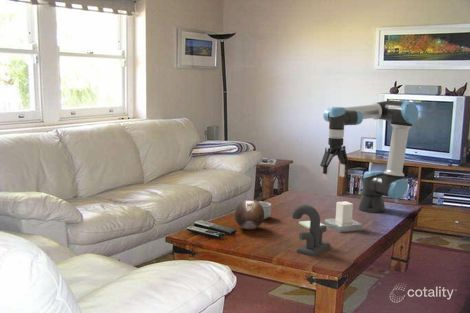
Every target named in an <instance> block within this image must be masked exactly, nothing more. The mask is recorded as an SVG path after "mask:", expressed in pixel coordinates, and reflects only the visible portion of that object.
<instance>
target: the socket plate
mask: <svg viewBox="0 0 470 313" xmlns="http://www.w3.org/2000/svg"><path fill="white" fill-rule="evenodd" d="M335 220H336V217H335V218H334V217H333V218H324V223H323V224H324V225H325V226H326V227H328V228H330V229H332V230H334V231H336V232H338V233H347V232H355V231H356V232H357V231H363V230H364V229H363V228H364V224H363V223H361V222H359V221H357V220H354V219H353V218H352V223H350V224H340V223H338V222H336V221H335Z"/></svg>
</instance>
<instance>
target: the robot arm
mask: <svg viewBox="0 0 470 313" xmlns="http://www.w3.org/2000/svg"><path fill="white" fill-rule="evenodd" d="M419 115H420V114H419V108H418V107H417V105H416V104H415V103H414V102H412V101H406V100H405V101H402V100H384V101H379V102H372V103H371V104H368V105H358V106H348V107H343V106H333V107H330V108H329V107H328V108H326V109H325V110H324V111H323V120H324V121H325V122H327V123H328V125H329V126H328V141H327V142H328V146H329V147H325V150H324V154H323V156H322V159H321V162H320V167H322V168H323V169H322V170H323V172H322V174H323V175H322V176H323V177H322V180H324V181H329V176H330V174H329V170H330V168H329V166H330V163H331V162H332V160H333V159H334V157H336V156H337V158H338V160H339V162H340V164H339V174H338V177H342V178H345V176H346V175H345V174H346V166H347V165H348V163H349V159H348V155H347V151H346V145H344V136H345V126H357V125H358V126H359V125H360V124H362V122H363V120H367V119H372V120H375V121H376V120H383V121H387V122H388V121H389V122H390V126H391V127H392V131H391V138H390V145H389V151H388V159H387V164H386V169H385V170H384V171H383V170H368V171H367V170H366V171H364V173H363V178H362V193H361V194H362V195H361V198H360V201H359V203H358V210H360V211H362V212H365V213H366V212H367V213H373V214H374V213H375V214H377V213H383V212H385V210H386V206H385V202H384V197H383V196H385V197H389V198H390V199H401V198H402V197H403V196H404V195H405V194H406V192H407V191H408V187H409V185H408V182H407V180H406V179H405V174H404V172H403V168H404V163H405V156H406V151H407V150H406V148H407V143H408V138H409V137H408V136H409V132H410V131H409V130H410V129H411V128H412V127H413V125H414V124H415V123H416V122H417V121H418V120H419Z"/></svg>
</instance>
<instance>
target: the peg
mask: <svg viewBox="0 0 470 313" xmlns="http://www.w3.org/2000/svg"><path fill="white" fill-rule="evenodd" d="M335 206H336V208H335V218H336V220H335V221H336V222H338V223H340V224H350V223H352V219H353V212H354V204H353V202H352V203H351V202H349V201H346V200H345V201H337V202H336V205H335Z"/></svg>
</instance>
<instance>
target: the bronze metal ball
mask: <svg viewBox="0 0 470 313" xmlns="http://www.w3.org/2000/svg"><path fill="white" fill-rule="evenodd" d="M258 202H259V201H257V200H255V199H245V200H242V201H241V202H239V203H238V204H237V205H236V207H235V209H234V219H235V221H236V223H237V225H238V226H239V227H241V228H242V229H244V230H245V229H246V230H255V229H257V228H259V226H261V225H262V223H263V221H264V220H265V219H264V210H263V207H262V206H261V205H260V204H259V203H258Z"/></svg>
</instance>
